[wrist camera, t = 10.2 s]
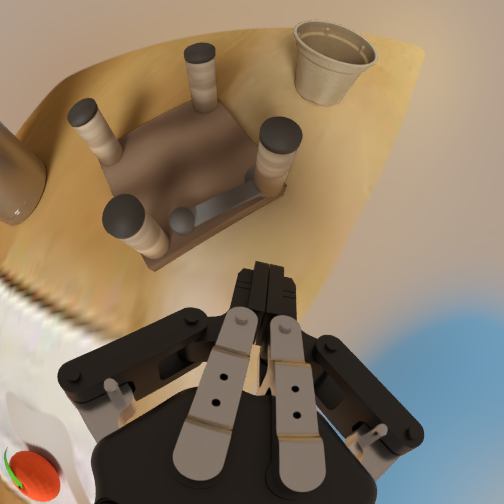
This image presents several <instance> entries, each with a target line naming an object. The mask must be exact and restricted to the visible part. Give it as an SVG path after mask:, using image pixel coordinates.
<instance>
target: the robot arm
mask: <svg viewBox="0 0 504 504" xmlns="http://www.w3.org/2000/svg"><path fill="white" fill-rule="evenodd" d="M45 181H46V169H45V166H44V164H43V162H42V161H41V160H40V159H39V158H38V157H37V156H35V155H34V154H33V153H32V152H31V151H30V150H29V149H28V148H27V147H26V146H25V145H24V144H23V143H22V142H21V141H20V140H19V139H18V138H17V137H16V136H15V135H13V134H12V133H11V132H10V131H9V130H8V129H7V128H6V127H5V126H4V125H3V124H2V123H1V122H0V221H2V222H4V223H6V224H9V225H17V224H19V223H21V222H22V221H24V220H25V219H26V218H27V217H28V216H29V215H30V214H31V213H32V211H33V210H34V208H35V207H36V205H37V203H38V202H39V200H40V197H41V195H42V193H43V189H44V186H45ZM255 340H256V344H255V345H259V346H261V347H260V353H259V356H258V359H257V392H256V395H252V394H250V393H247V392H245V391H243V390H242V389H243V385H244V381H245V377H246V373H247V368H248V364H249V360H250V353H251V348H252V344H253V345H254V343H255ZM202 362H207V364H206V367H205V370H204V372H203V375H202V378H201V381H200V383H199V386H198V387H193V388H189V389H186V390H183V391H181V392H179V393H177V394H175V395H174V396H172V397H171V398H169V399H167V400H166V401H164V402H163V403H161V404H160V405H158V406H156V407H155V408H153V409H151V410H150V411H148V412H147V413H145V414H143V415H142V416H140V417H138V418H137V419H135V420H133V421H132V422H130V423H128V424H126V425H125V423H126V422H127V421H128V420H129V419H130V418H131V417H133V415H134V414H135V413H136V410H137V403H136V401H138V400H140V399H142V398H143V397H145V396H147V395H149V394H151V393H153V392H154V391H156V390H158V389H160V388H162V387H163V386H165V385H167V384H169V383H170V382H172V381H174V380H176V379H177V378H179V377H181V376H182V375H184V374H186V373H187V372H189V371H191V370H192V369H194V368H196V367H197V366H199V365H200V364H201V363H202ZM57 377H58V382H59V384H60V386H61V387H62V389H63V390H64V391H65V393H66V395H67V397H68V398H69V399H70V401H71V402H72V403H73V405H74V406H75V407H76V408H77V409H78V411H79V413H80V415H81V416H82V418H83V420H84V422H85V424H86V425H87V427H88V429H89V431H90V432H91V434H92V436H93V437H94V439H95V441H96V442H97V445H96V446H95V448H94V450H93V452H92V457H91V467H92V471H93V475H94V479H95V486H96V498H95V503H94V504H375V501H376V497H377V487H376V483H375V482H376V481H377V480H378V479H379V478H380V477H381V476H382V475H383V474H384V473H385V471H387V470H388V469H389V468H390V466H391V465H392V464H393V463H394V462H395V461H396V460H397V459H398V458H399V457H400V456H402V455H404V454H406V453H407V452H409V451H411V450H412V449H414V448H416V447H418V446H419V445H420V444H421V443H422V442H423V439H424V430H423V428H422V426H421V424H420V423H419V422H418V421H417V420H416V419H415V418H414V417H413V416H412V415H411V414H410V413H409V412H408V411H407V410H406V409H405V407H404V406H403V405H402V404H401V403H400V402H399V401H398V400H397V399H396V398H395V397H394V396H393V395H392V394H391V393H390V392H389V391H388V390H387V389H386V388H385V386H383V384H382V383H381V382H380V381H379V380H378V379H377V378H376V377H375V376H374V375H373V374H372V373H371V372H370V371H369V370H368V369H367V368H366V367H365V366H364V365H363V363H362V362H361V361H360V360H359V359H358V358H357V357H356V356H355V355H354V354H353V353H352V352H351V351H350V350H349V349H348V348H347V347H346V346H345V345H344V344H343V343H342V341H340V340H339V339H338V338H336V337H334V336H332V335H323V336H321V337H319V338H318V339H316V338H314V337H312V336H310V335H308V334H306V333H304V332H303V331H302V330H301V327H300V325H299V323H298V322H297V312H296V285H295V283H294V282H293V280H292V278H288V277H284V267H282V266H277V265H273V264H270V266H269V264H268V263H263V262H259V261H255V265H254V269H253V270H250V269H245V268H243V269H242V270H241V271H240V272H239V273H238V277H237V281H236V285H235V289H234V293H233V297H232V302H231V306H230V309H229V310H228V311H227V312H226V313H225V314H223V315H221V316H216V317H207V315H206V314H205V313H204V312H203V311H202V310H200V309H197V308H191V307H189V308H184V309H182V310H179V311H177V312H175V313H173V314H171V315H169V316H167V317H165V318H163V319H160V320H158V321H156V322H154V323H152V324H150V325H148V326H146V327H143V328H141V329H139V330H137V331H135V332H133V333H130V334H128V335H126V336H124V337H122V338H120V339H117V340H115V341H113V342H111V343H109V344H106V345H104V346H102V347H100V348H98V349H95V350H93V351H91V352H89V353H86V354H84V355H82V356H80V357H77V358H75V359H73V360H71V361H68V362H66V363H65V364H63V365H62V366H61V367H60V369H59V371H58V376H57ZM337 384H338V385H337ZM316 405H317V407H318V408H319V409H320V410H321V411H322V413H323V414H324V415H325V416H326V417H327V418H328V420H329V421H330V422H331V423H332V424H333V425H334V427H335V428H336V429H337V430H338V431H339V432H340V433H341V435H342V436H343V437H344V438H345V439H346V441H345V443H344V442H343V441H342V440H341V438H340V437H339V436H338V435H337V433H336V432H335V431H334V430H333V428H332V427H331V426H330V425H329V423H328V422H327V421H326V420H325V418H324V417H323V416H322V415H321V414H320V413H319V412H318V411H316ZM124 425H125V426H124Z"/></svg>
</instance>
